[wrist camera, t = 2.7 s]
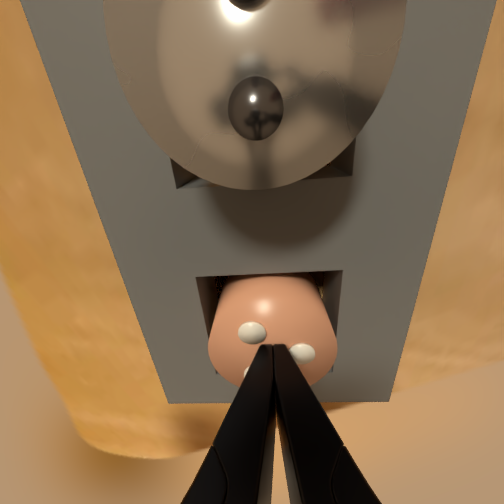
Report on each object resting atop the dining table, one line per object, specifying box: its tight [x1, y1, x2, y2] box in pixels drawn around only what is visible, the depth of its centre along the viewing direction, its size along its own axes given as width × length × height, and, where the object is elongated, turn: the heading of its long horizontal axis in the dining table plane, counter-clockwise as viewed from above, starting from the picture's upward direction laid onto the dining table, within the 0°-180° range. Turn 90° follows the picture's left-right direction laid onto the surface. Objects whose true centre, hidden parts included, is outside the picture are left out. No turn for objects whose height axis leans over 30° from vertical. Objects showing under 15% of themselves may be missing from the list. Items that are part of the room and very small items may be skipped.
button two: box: [103, 0, 407, 190], centre depth 5 cm, size 4×4×3 cm
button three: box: [208, 272, 337, 387], centre depth 9 cm, size 4×4×3 cm
